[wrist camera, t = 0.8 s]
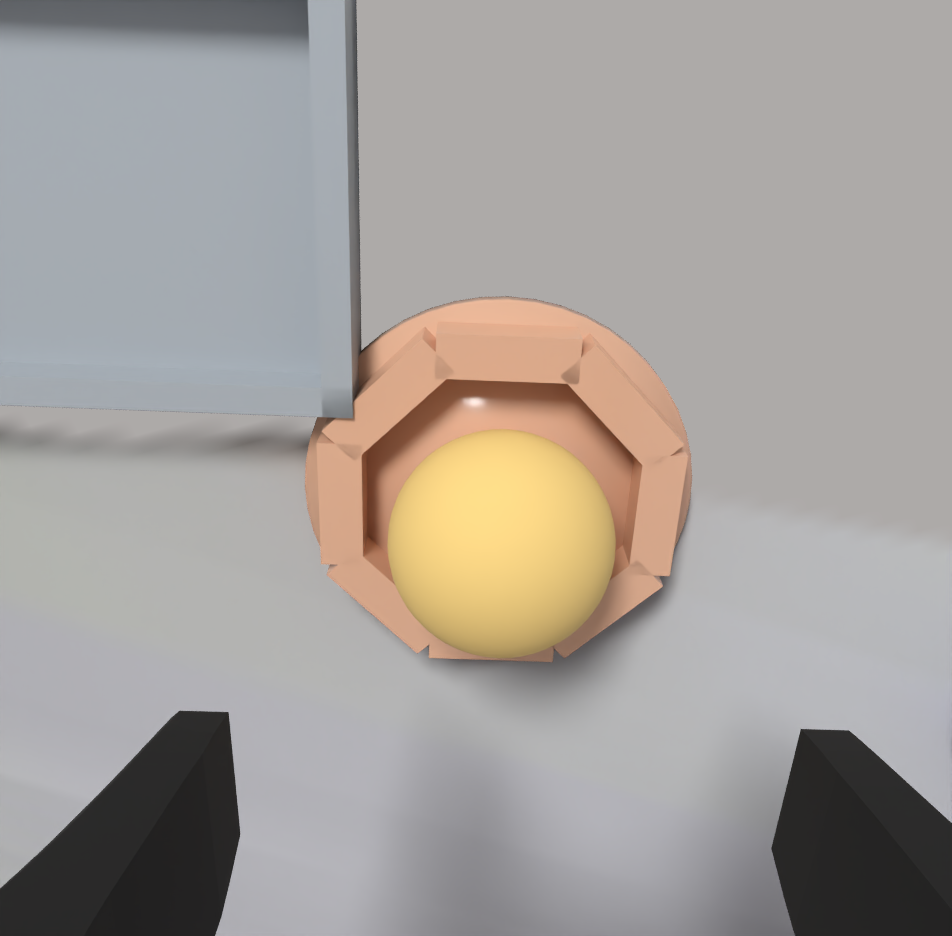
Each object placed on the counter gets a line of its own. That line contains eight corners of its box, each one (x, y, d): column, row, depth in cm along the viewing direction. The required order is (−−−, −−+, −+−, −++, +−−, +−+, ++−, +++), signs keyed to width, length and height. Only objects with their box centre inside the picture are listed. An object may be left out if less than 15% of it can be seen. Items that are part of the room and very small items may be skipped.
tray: (355, -40, 15) (343, -54, 14) (361, 393, 18) (352, 418, 17) (-224, -67, 15) (-295, -83, 13) (-113, 375, 18) (-161, 398, 17)
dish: (713, 304, 17) (732, 321, 16) (660, 645, 21) (672, 681, 20) (301, 288, 17) (287, 304, 16) (315, 634, 21) (305, 670, 19)
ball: (609, 401, 18) (648, 493, 14) (589, 583, 20) (619, 711, 16) (397, 393, 18) (375, 483, 14) (396, 576, 19) (376, 704, 15)
